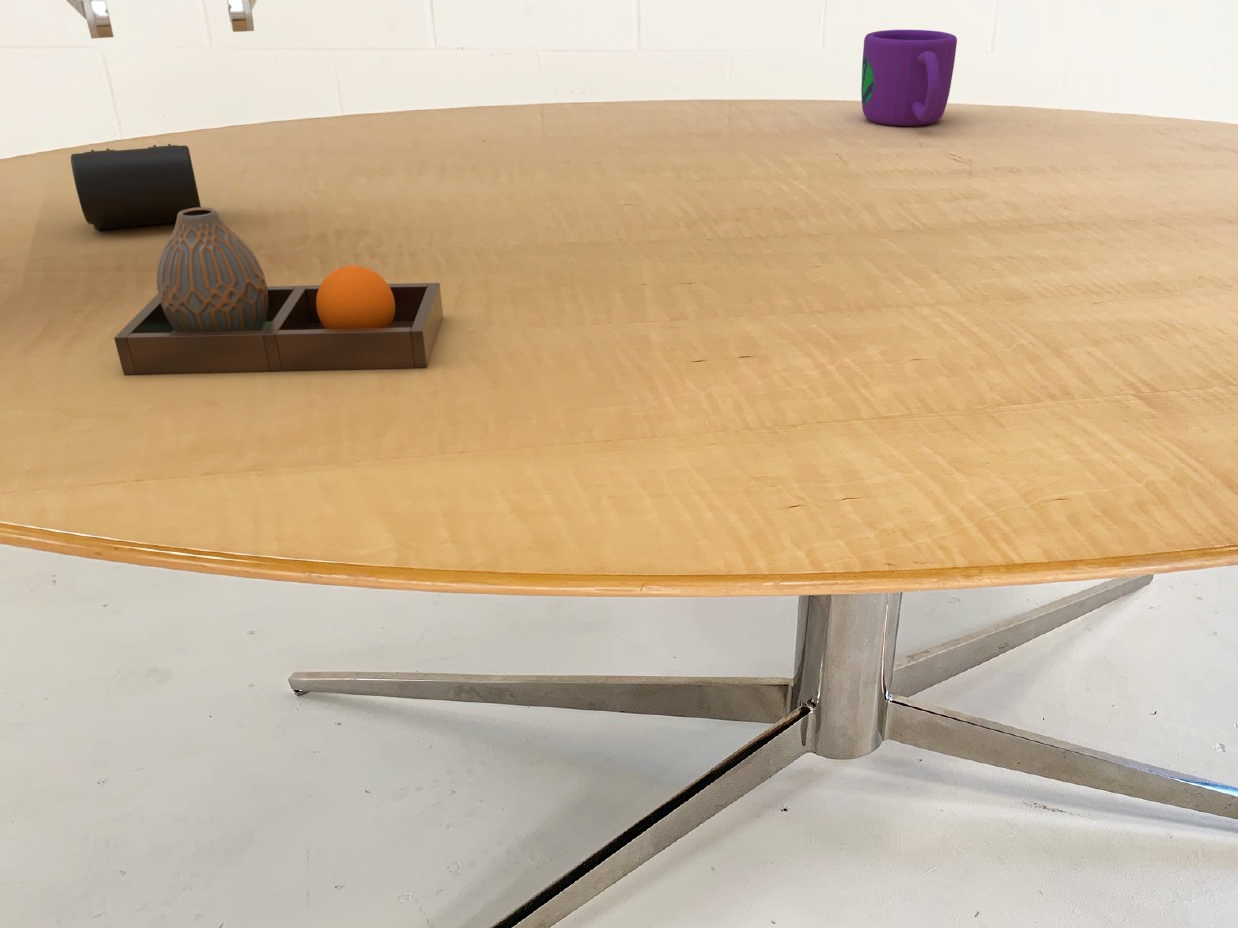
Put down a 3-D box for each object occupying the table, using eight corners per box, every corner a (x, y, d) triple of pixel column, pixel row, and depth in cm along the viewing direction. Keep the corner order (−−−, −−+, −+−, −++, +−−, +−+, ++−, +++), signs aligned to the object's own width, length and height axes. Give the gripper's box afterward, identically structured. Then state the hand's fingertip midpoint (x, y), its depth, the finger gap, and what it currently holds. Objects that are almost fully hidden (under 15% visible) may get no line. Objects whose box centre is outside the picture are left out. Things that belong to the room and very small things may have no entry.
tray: (125, 383, 76) (113, 337, 74) (172, 330, 85) (162, 288, 83) (428, 376, 77) (422, 331, 75) (444, 324, 85) (439, 282, 84)
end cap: (89, 239, 105) (68, 161, 102) (91, 220, 111) (71, 145, 107) (205, 228, 108) (189, 151, 105) (201, 210, 114) (186, 137, 110)
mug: (848, 113, 155) (854, 30, 149) (931, 111, 156) (940, 28, 150) (884, 139, 140) (892, 48, 135) (975, 137, 141) (987, 46, 136)
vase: (163, 335, 81) (132, 206, 77) (263, 318, 84) (239, 193, 80) (180, 366, 76) (149, 231, 72) (286, 348, 79) (262, 216, 74)
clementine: (315, 356, 78) (303, 280, 76) (330, 330, 83) (318, 257, 80) (394, 355, 79) (383, 278, 76) (404, 328, 83) (395, 255, 80)
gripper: (285, -103, 91) (323, 51, 88) (-6, -100, 84) (27, 67, 82) (282, -173, 85) (323, -10, 82) (-31, -175, 78) (4, 2, 76)
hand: (173, 29), depth 82 cm, fingers open, 8 cm apart
